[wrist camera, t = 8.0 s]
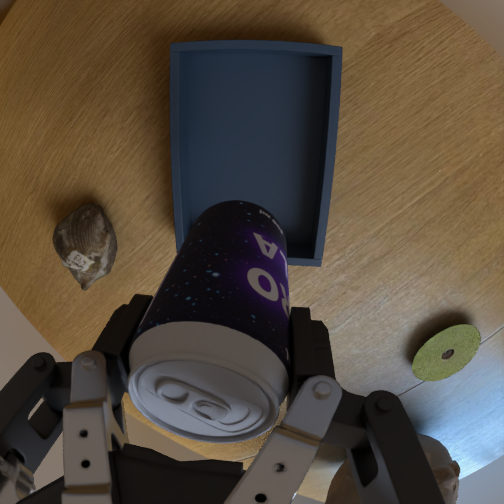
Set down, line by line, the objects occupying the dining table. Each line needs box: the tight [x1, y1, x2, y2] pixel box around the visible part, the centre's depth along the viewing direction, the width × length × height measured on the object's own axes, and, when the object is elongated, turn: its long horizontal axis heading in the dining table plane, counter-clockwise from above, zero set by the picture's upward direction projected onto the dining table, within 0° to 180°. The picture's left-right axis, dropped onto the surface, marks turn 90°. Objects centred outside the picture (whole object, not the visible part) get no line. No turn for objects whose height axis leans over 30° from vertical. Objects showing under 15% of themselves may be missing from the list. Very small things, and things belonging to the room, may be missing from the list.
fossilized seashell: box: [52, 203, 117, 290], centre depth 32 cm, size 8×7×10 cm
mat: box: [412, 324, 481, 381], centre depth 38 cm, size 11×11×2 cm
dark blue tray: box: [170, 40, 342, 267], centre depth 27 cm, size 20×14×4 cm
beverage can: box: [127, 200, 291, 443], centre depth 14 cm, size 6×6×12 cm
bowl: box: [325, 433, 460, 504], centre depth 44 cm, size 27×29×20 cm
